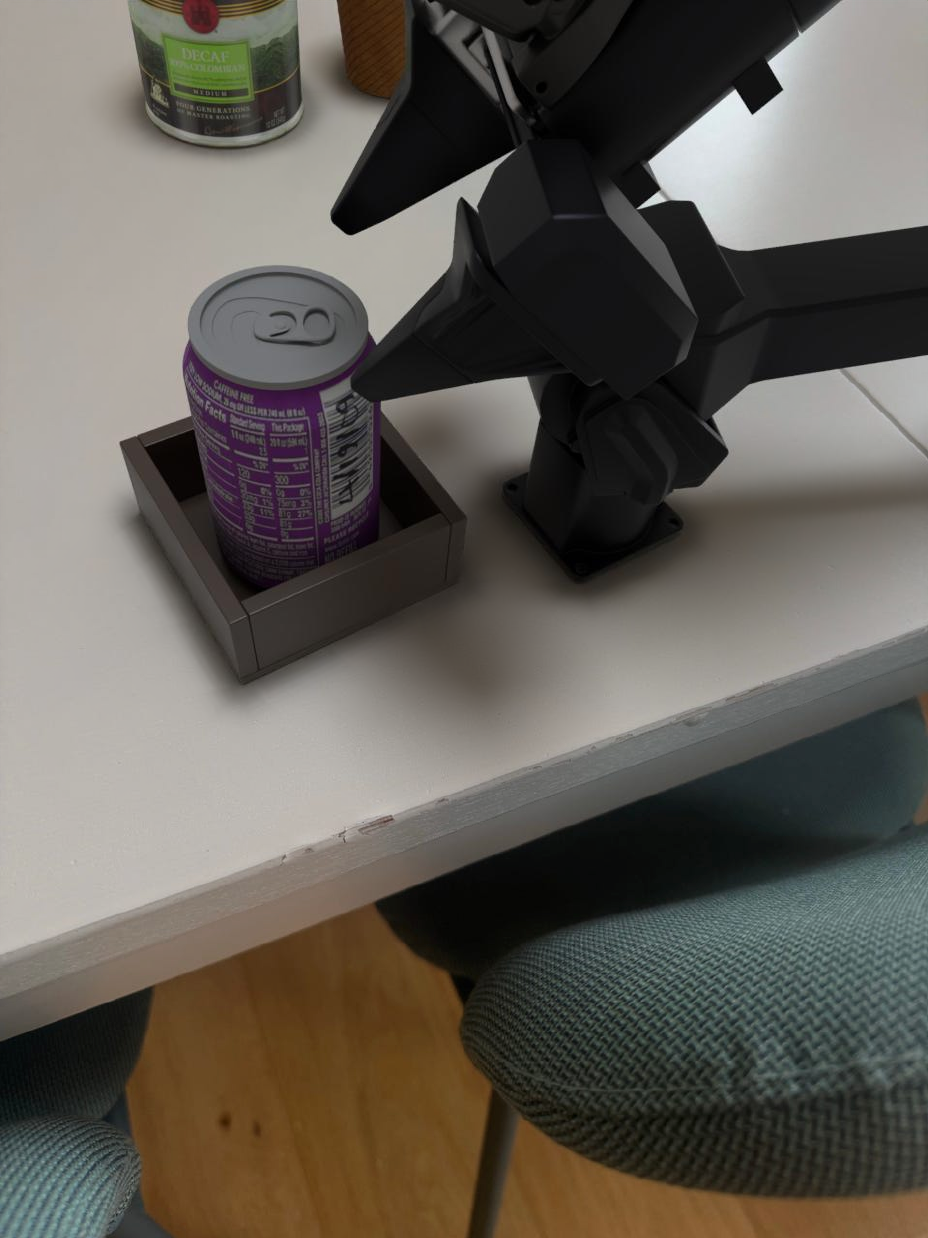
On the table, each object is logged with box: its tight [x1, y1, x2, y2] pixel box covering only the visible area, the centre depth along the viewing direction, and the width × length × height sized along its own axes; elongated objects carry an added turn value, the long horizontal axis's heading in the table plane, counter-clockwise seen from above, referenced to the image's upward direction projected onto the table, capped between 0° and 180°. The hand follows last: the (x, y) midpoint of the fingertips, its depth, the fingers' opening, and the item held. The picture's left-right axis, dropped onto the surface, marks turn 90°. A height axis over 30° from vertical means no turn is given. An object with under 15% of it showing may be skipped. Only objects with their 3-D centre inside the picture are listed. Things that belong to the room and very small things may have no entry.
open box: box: [118, 410, 469, 685], centre depth 41 cm, size 11×11×4 cm
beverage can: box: [181, 264, 382, 589], centre depth 38 cm, size 7×7×12 cm
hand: (348, 302), depth 33 cm, fingers open, 9 cm apart
